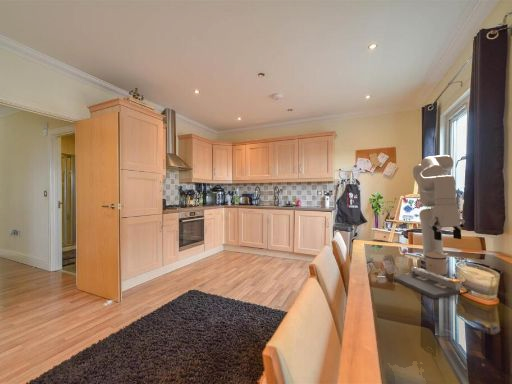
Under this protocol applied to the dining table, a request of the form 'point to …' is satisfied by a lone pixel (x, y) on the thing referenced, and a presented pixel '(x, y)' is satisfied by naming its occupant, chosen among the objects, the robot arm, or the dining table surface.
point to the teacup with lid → (435, 262)
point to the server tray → (426, 285)
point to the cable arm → (437, 277)
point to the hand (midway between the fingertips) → (447, 239)
